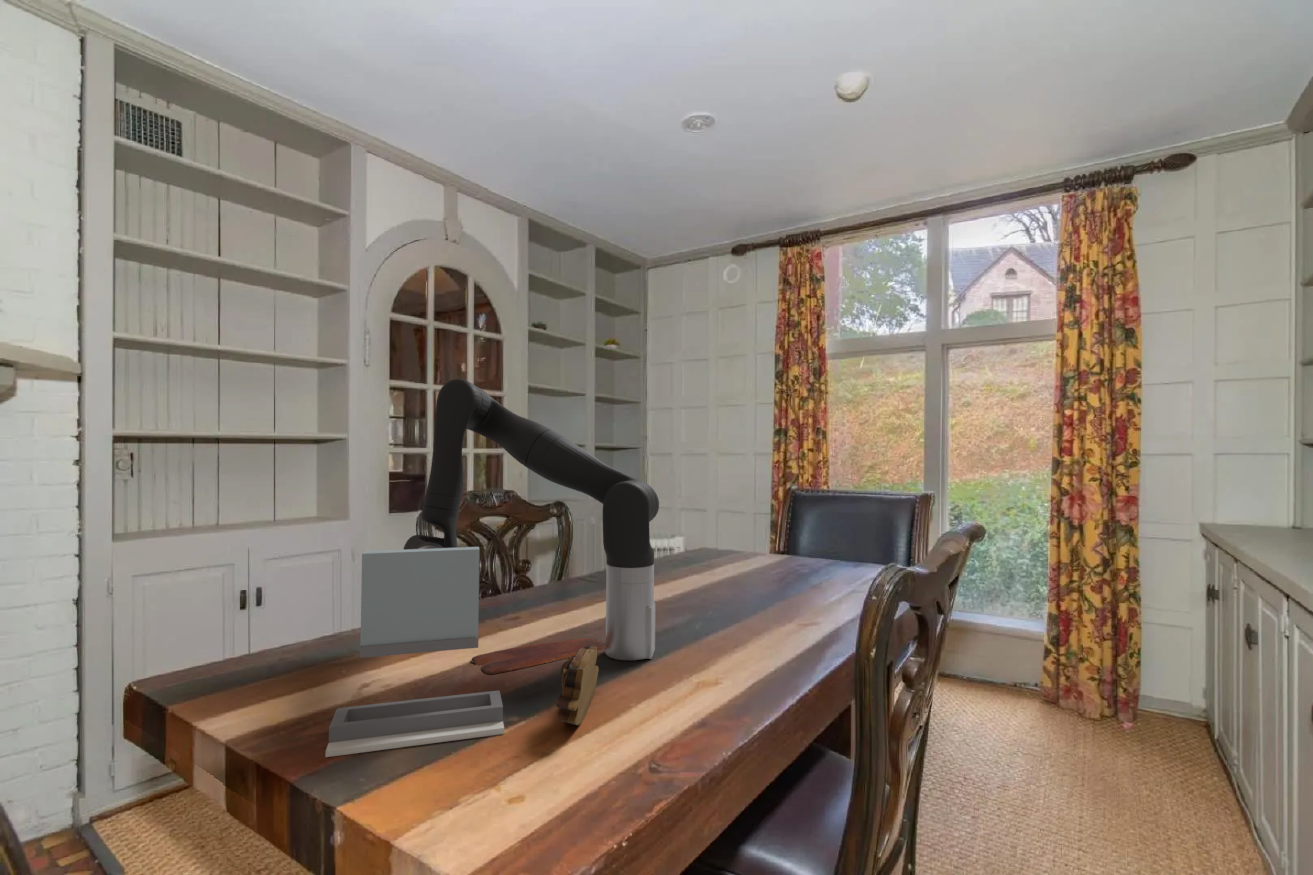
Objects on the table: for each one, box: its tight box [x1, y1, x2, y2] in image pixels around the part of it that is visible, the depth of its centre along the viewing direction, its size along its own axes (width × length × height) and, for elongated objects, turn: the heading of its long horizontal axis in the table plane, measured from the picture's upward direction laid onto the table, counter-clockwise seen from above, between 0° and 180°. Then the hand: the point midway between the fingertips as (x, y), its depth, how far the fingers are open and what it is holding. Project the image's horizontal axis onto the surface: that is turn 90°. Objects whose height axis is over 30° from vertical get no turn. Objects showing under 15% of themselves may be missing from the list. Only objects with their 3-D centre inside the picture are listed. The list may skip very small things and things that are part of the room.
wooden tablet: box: [470, 637, 606, 675], centre depth 120 cm, size 27×10×2 cm, turn 128°
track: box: [325, 689, 505, 758], centre depth 88 cm, size 22×11×3 cm, turn 109°
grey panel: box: [359, 546, 481, 659], centre depth 94 cm, size 16×8×14 cm, turn 108°
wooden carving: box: [555, 646, 600, 726], centre depth 91 cm, size 16×5×10 cm, turn 178°
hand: (422, 590), depth 94 cm, fingers closed on grey panel, 2 cm apart
